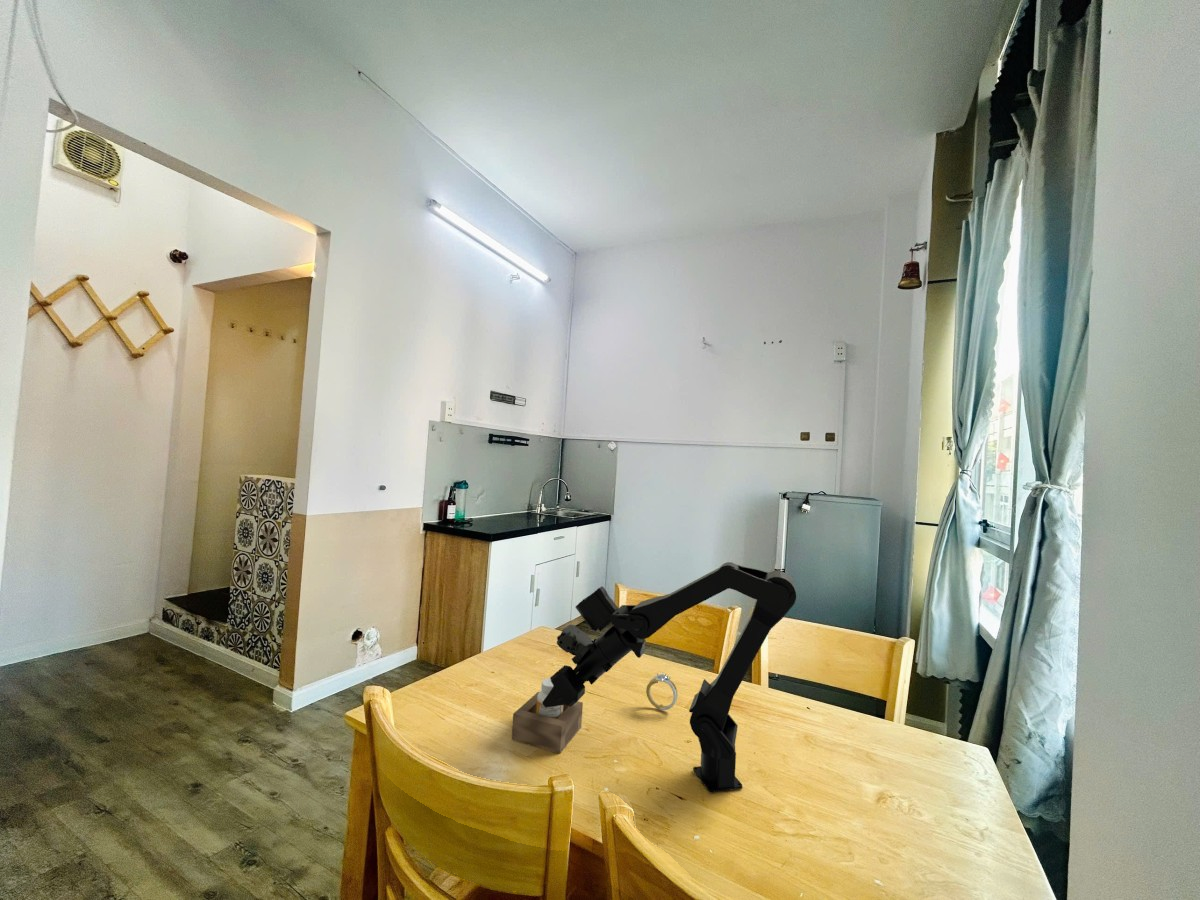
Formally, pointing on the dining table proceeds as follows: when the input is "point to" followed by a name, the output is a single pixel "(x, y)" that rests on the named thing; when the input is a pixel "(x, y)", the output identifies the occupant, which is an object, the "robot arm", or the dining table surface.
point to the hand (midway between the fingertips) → (554, 694)
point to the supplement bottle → (541, 710)
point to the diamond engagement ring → (665, 679)
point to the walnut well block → (546, 726)
